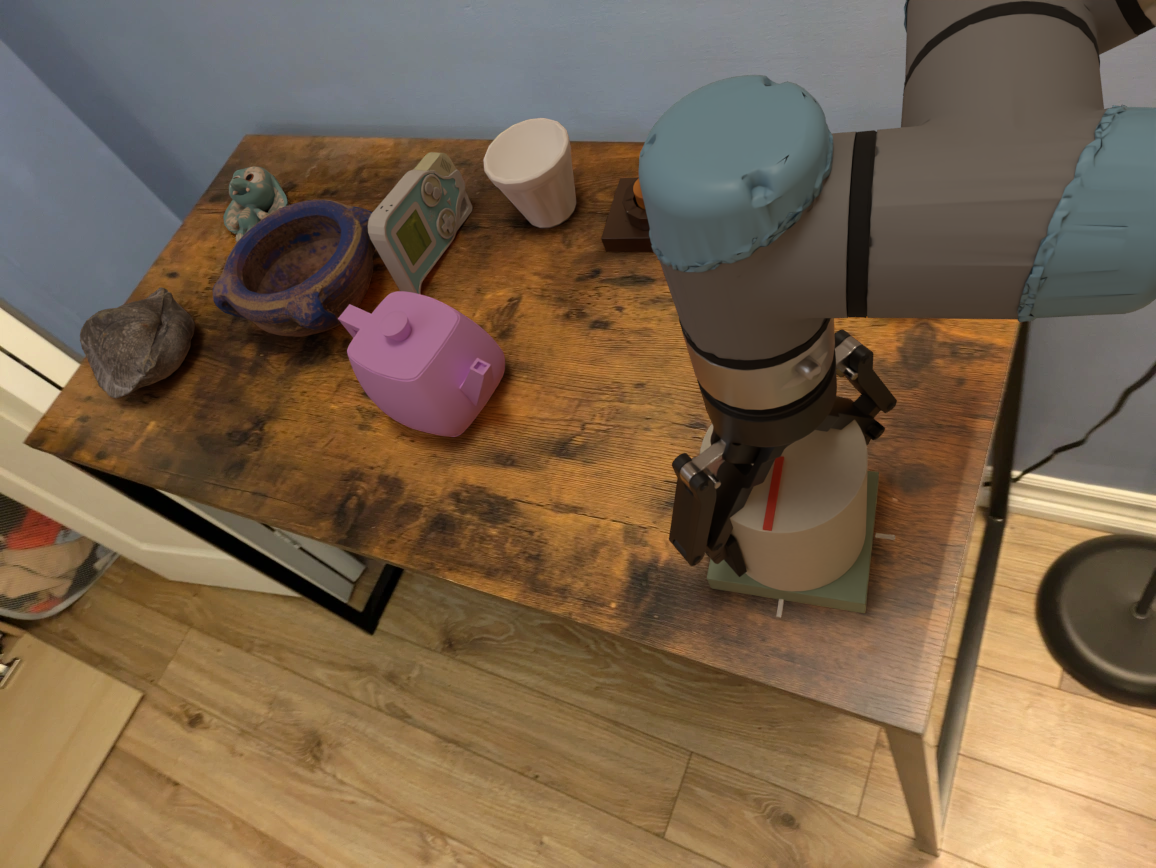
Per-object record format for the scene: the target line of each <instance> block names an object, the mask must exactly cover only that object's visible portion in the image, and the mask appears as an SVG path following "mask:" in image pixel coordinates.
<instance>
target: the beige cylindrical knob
mask: <svg viewBox="0 0 1156 868" xmlns="http://www.w3.org/2000/svg"><path fill="white" fill-rule="evenodd" d="M712 432H713V425H712V423H711V424H710V426H709V427H708V429H707V430H706V432H705V434H704V437H703V439H702V442H701V445H700V449H699V454H698V455H700V454H701V453H702V452H704V451H705V450H706V449H707V448H709V447H710V446H711V443H710V438H711V435H712ZM752 465H753V464H752ZM868 467H869V453H868V445H866V441H865V438H864V435H863V433H862V431H861V429H860V427H859V425H858V424H857V422H856V420H853V421H852V422H851V423H849V424H848V425H847V426H846V427H844V428H843V429H842V430H839V429H833V428H830V430H829V431H828V432H825V431H819V430H814V431H813V432H812V433H810V434H809V435H807V436H806V437H804V438H802V439H800V440H798V441H796V442H794V443H792V444H791V445H789V446H788V447H786V448H785V449H784V451H783V453H782V455H781V456H780V457H778V458H776V459H775V461H774V463H773V465H772V467H771V469H770V471H769V473H768V475H767V477H766V479H765V481H764V482H763V483H761V484H759V485H756V486H754V487H753V489H752V491H751V493H750V495H749V497H748V499H747V501H746V503H745V505H744V507H743V508H742V509H741V510H739V511H738V512H737V513H736V514H734V515H733V516H732V517H731V518H730V520H731V523H732V526H733V530H732V532H731V535H732V536H733V537H734V538H735V539H736V541H737V543H738V546H739V549H740V552H741V555H742V558H743V561H744V564H745V567H746V569H747V572H746V574H747V575H748V576H749V577H751V578H752V579H754V580H755V581H757V582H759V583H761V584H763V585H765V586H768V587H771V588H774V589H778V590H783V591H807V590H813V589H816V588H820V587H823V586H825V585H827V584H830V583H831V582H833V581H835V580H837V579H838V578H839V577H841V576H842V575H843V574H845V573H846V572H847V571H848V570H849V569H850V568H851V567H852V565H853V564H854V563H855V561H856V560H857V558H858V556H859V554H860V553H861V550H862V547H863V545H864V541H865V536H866V510H867V472H868V471H869V468H868Z"/></svg>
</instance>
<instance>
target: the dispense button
mask: <svg viewBox="0 0 1156 868" xmlns="http://www.w3.org/2000/svg"><path fill="white" fill-rule="evenodd" d="M637 178H638V177H637ZM633 192H634V195H635V198H636V201H637V204H638V205H639V207H641V208H642V209H644V210H646V209H645V205H644V200H643V196H642V191H641V187H640V182H639V178H638V179H637V180H636V182H635V183H634V186H633Z"/></svg>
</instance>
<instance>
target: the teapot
mask: <svg viewBox="0 0 1156 868" xmlns="http://www.w3.org/2000/svg"><path fill="white" fill-rule="evenodd" d="M338 320H339V321H340V322H341V323H342V324H341V325H342V326H343V327H344V328H345V330H346V331H347V332H348V333H349V335H350V336H351V337H352V340H351V342H350V343H349V345H348V347H347V349H346V354H347V357H348V360H349V363H350V365H351V369H352V370H353V373H354V375H355V377H356V379H357V381H358V383H359V385H360V386H361V388H362V389H363V391H364V392H365V394H366V395H367V397H368V398H369V399H370V400H371V401H372V402H373V403H374V404H375V405H376V407H377V408H378V409H380V410H381V411H382V412H383V413H384V414H385V415H387V416H388V417H389V418H391V419H392V420H394V421H395V422H397V423H398V424H401V425H403V426H405V427H407V428H409V429H412V430H415V431H419V432H423V433H425V434H426V433H427V434H431V435H436V436H441V437H451V438H456V437H459V436H461V435H462V434H464V433H465V432H466V431H467V429H468V428H469V427H470V426H471V425H472V424H473V422H474V421H475V419H476V418H477V417H478V416H479V414H480V413H481V412H482V410H483V409H484V408H485V406H486V405H487V403H488V401H490V399H491V398H492V395H493V394H494V392H495V390H496V389H497V388H498V386H499V384H500V382H501V380H502V379H503V377H504V375H505V372H506V357H505V354H504V351H503V349H502V348H501V347H500V345H499V344H498V343H497V341H496V340H495V339H494V338H493V336H491V335H490V334H489V333H488V331H486V330H485V329H484V328H482V326H481V325H479V324H477V322H475V321H474V320H473V319H471V318H469V317H468V316H466V315H465V314H464V313H462V312H461V311H458V309H456V308H453V307H452V306H451V305H448V304H446V303H445V302H442V301H441V300H438V299H436V298H433V297H431V296H428V295H424V294H422V293H421V294H416V293H412V292H404V291H400V290H398V291H393V292H390V293H389V294H387V295H386V297H384V299H382V301H381V302H380V303H379V304H378V305H377V306H376V307H375V309H374V310H373V311H372V313H370V312H369V311H366V310H364V309H361V308H359V307H355V306H353V305H350V304H349V306H348V307H347V308H346V309H345V311H344V312H343V313H342V314H341V315H340V317H339V318H338Z"/></svg>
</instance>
